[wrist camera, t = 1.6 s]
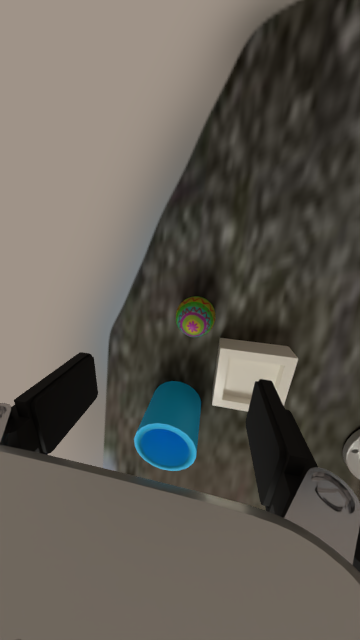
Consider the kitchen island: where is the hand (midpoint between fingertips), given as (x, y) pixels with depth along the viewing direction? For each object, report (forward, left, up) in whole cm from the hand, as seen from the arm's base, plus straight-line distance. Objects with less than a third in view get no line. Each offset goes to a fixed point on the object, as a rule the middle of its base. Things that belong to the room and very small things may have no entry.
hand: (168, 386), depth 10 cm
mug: (+2, +18, -16) cm, 24 cm away
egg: (0, 0, -16) cm, 16 cm away
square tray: (-8, +8, -16) cm, 20 cm away
